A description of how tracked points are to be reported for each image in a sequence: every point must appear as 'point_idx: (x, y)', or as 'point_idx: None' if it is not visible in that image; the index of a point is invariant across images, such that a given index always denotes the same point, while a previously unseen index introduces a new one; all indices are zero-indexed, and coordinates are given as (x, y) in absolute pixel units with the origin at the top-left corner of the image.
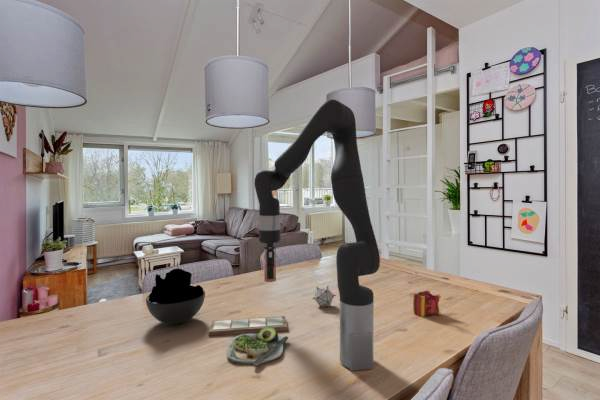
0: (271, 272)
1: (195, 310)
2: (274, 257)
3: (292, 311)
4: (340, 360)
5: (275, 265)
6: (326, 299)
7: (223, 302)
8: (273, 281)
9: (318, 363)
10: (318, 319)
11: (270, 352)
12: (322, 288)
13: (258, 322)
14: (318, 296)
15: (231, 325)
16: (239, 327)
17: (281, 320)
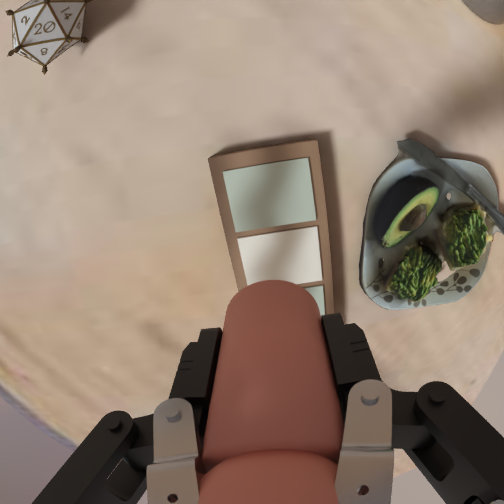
0: (372, 363)
1: None
2: (391, 490)
3: (118, 139)
4: (494, 22)
5: (294, 386)
6: (77, 4)
7: (100, 368)
8: (309, 294)
9: (498, 74)
10: (196, 24)
11: (482, 196)
12: (20, 28)
13: (282, 257)
14: (63, 35)
15: None
16: (322, 309)
17: (261, 169)
